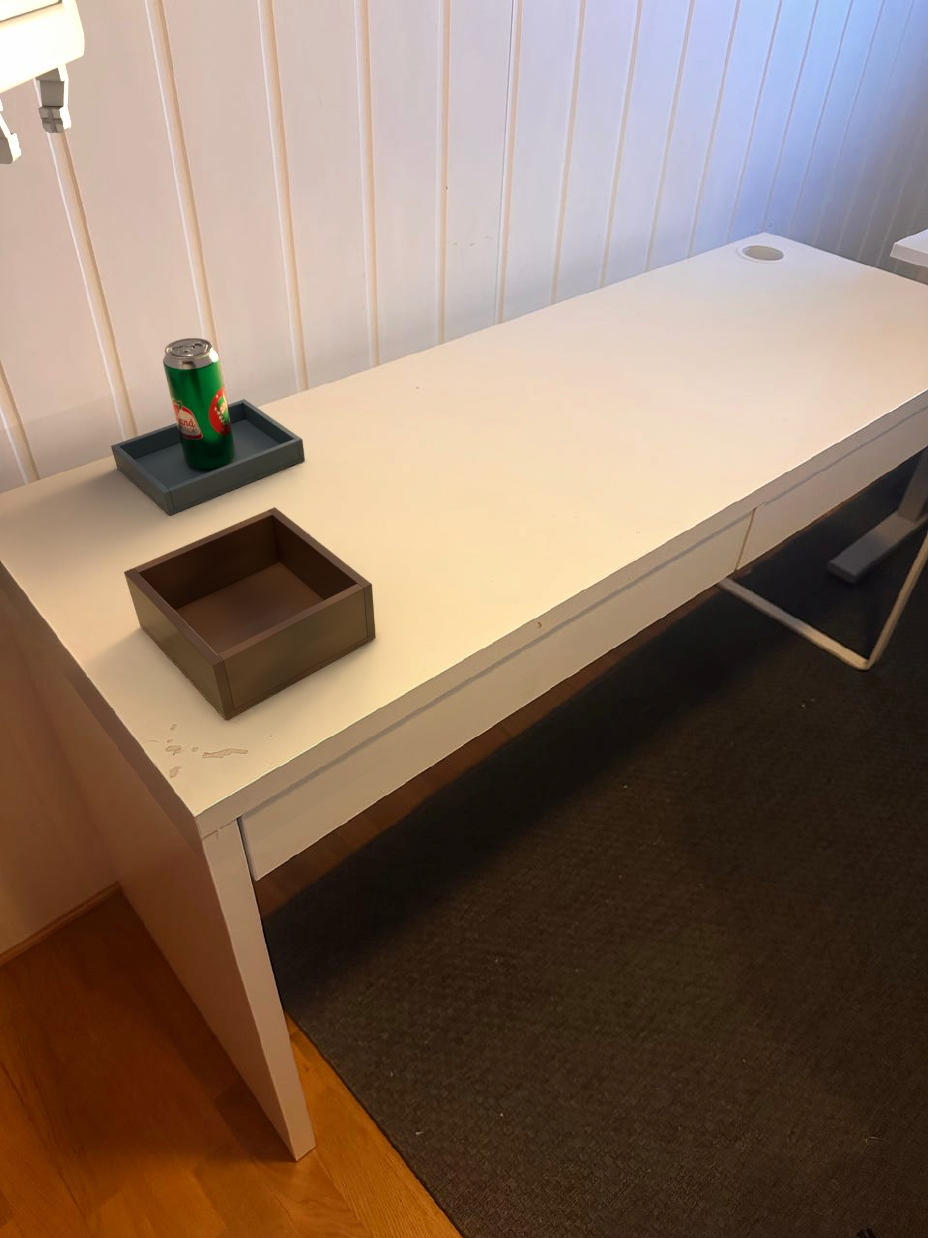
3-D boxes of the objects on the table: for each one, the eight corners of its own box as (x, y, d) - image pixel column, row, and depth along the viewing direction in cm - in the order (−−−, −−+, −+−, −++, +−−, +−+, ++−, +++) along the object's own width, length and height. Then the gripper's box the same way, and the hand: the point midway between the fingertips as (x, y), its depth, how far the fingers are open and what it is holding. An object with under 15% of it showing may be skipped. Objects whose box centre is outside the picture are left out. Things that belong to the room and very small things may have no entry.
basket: (226, 721, 65) (212, 665, 61) (140, 626, 72) (123, 571, 69) (376, 638, 72) (372, 583, 68) (283, 559, 79) (274, 506, 75)
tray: (169, 515, 84) (164, 493, 82) (116, 467, 90) (110, 445, 89) (305, 460, 92) (302, 439, 90) (247, 419, 98) (244, 398, 96)
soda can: (176, 458, 91) (150, 345, 83) (221, 442, 93) (200, 331, 85) (200, 479, 88) (176, 364, 80) (245, 461, 90) (226, 349, 82)
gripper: (-1, -88, 69) (49, 113, 78) (-157, -70, 54) (-72, 179, 63) (79, -85, 69) (120, 116, 78) (-54, -66, 53) (17, 183, 62)
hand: (34, 145), depth 70 cm, fingers open, 8 cm apart
